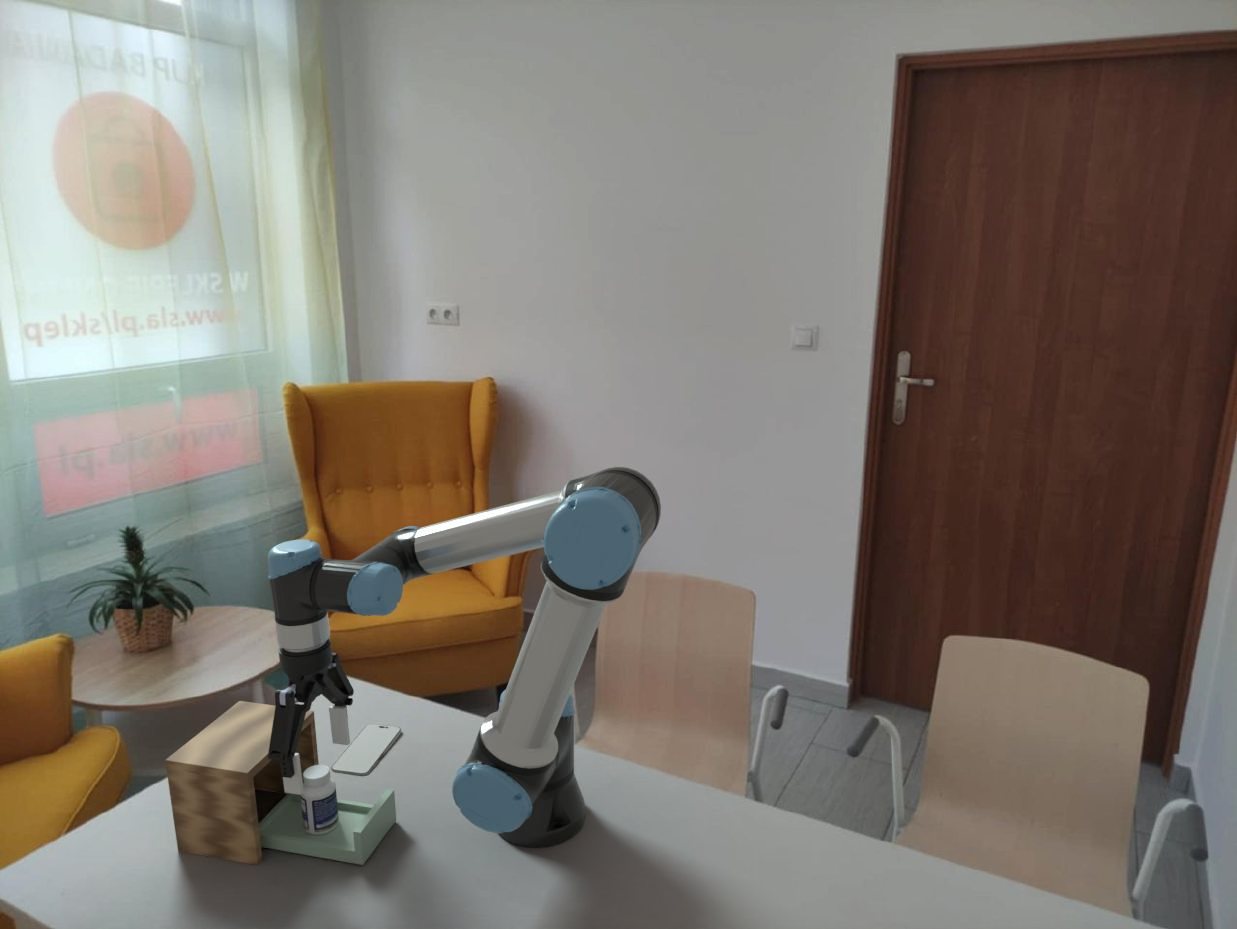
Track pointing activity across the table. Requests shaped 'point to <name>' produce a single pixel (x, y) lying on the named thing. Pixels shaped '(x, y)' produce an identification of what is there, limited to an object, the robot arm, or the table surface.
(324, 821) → the pill bottle
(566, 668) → the robot arm
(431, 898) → the table surface
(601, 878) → the table surface
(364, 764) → the smartphone
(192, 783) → the wooden drawer cabinet
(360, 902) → the table surface
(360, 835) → the tray
